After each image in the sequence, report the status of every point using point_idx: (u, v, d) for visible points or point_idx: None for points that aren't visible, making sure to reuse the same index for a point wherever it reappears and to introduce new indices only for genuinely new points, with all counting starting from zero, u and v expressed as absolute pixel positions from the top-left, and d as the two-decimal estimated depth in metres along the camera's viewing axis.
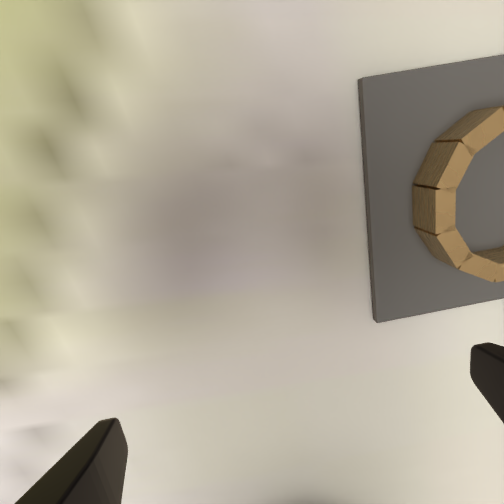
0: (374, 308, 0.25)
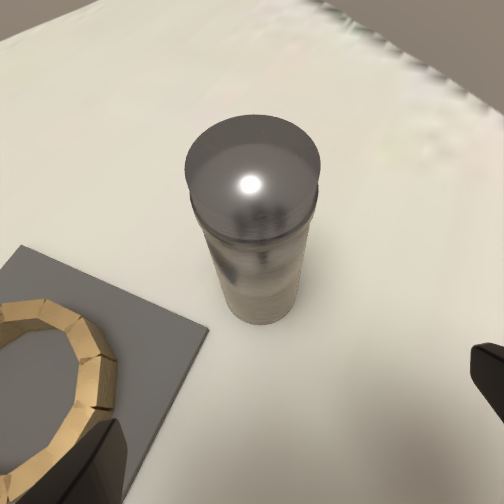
0: None
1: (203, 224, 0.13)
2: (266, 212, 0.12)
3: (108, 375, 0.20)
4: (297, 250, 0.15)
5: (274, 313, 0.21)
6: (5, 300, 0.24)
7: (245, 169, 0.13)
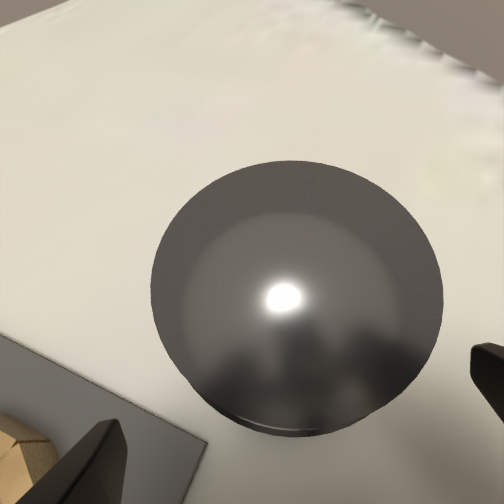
0: None
1: (192, 385, 0.07)
2: (336, 406, 0.05)
3: None
4: None
5: None
6: None
7: (279, 286, 0.06)
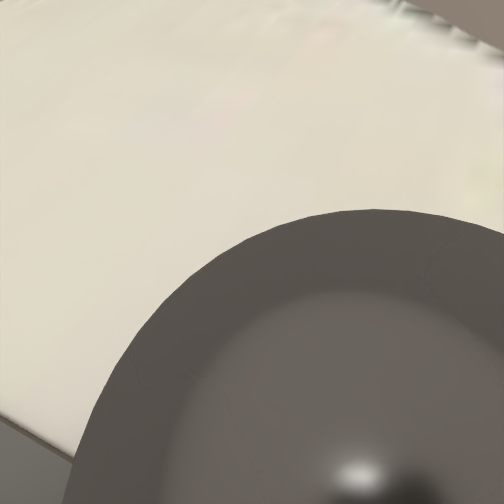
0: None
1: None
2: None
3: None
4: None
5: None
6: None
7: None
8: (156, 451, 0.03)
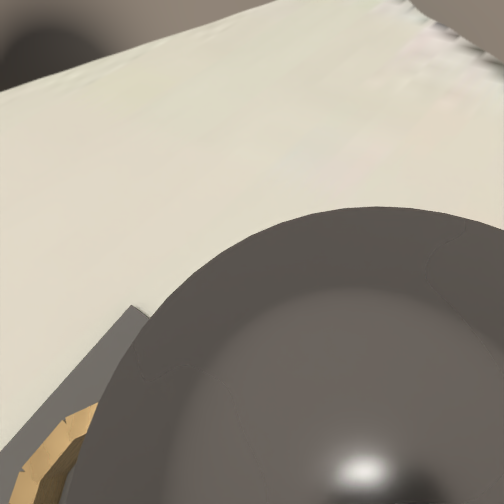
0: None
1: None
2: None
3: None
4: None
5: None
6: (110, 373, 0.21)
7: None
8: (160, 445, 0.03)
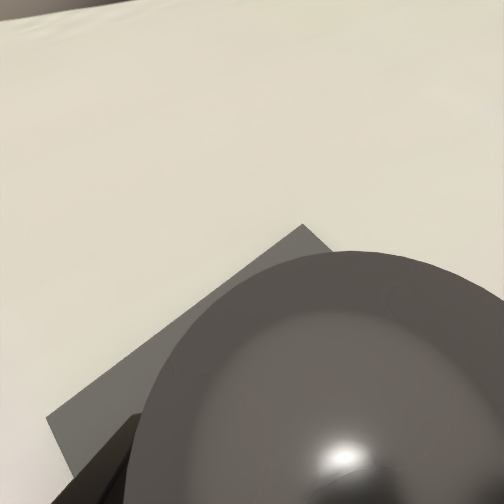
0: None
1: None
2: None
3: None
4: None
5: None
6: None
7: None
8: (193, 430, 0.04)
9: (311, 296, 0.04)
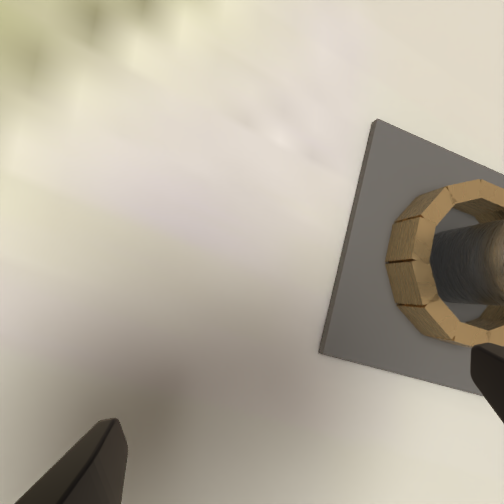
0: (324, 336, 0.21)
1: None
2: None
3: None
4: None
5: (460, 297, 0.21)
6: None
7: None
8: None
9: None
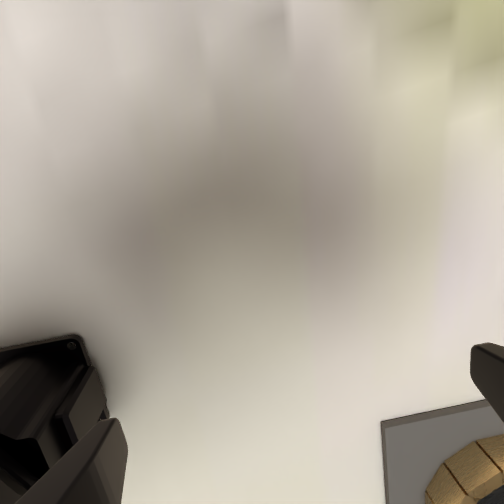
0: (396, 422, 0.24)
1: None
2: None
3: None
4: None
5: None
6: None
7: None
8: None
9: None
